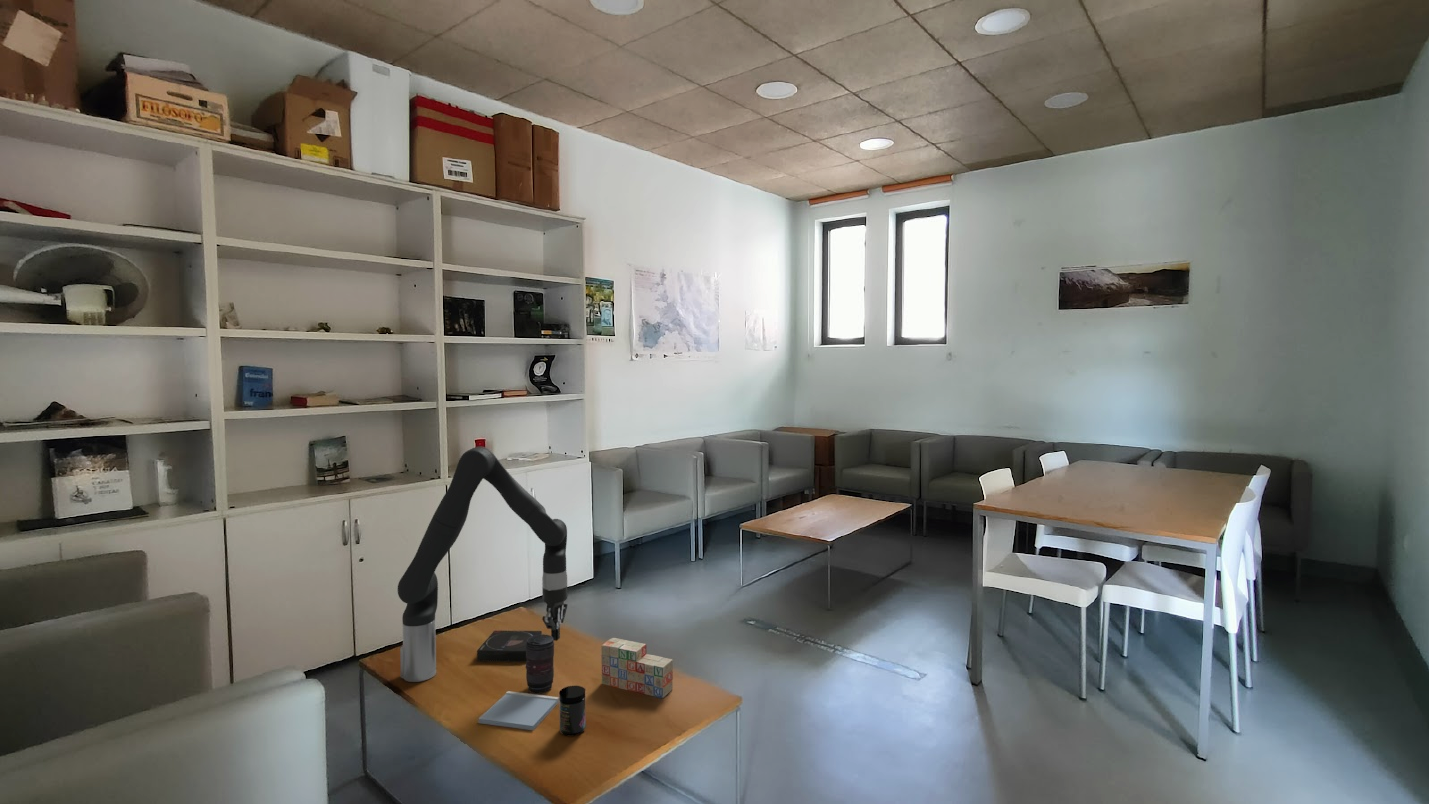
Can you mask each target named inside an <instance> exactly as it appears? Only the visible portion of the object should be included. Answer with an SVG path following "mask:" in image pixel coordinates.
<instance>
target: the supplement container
mask: <svg viewBox="0 0 1429 804" xmlns="http://www.w3.org/2000/svg"><path fill="white" fill-rule="evenodd" d="M558 695H559V696H558V697H559V703H558V704H559V706H558V707H559V732H560V733H561V734H562V735H563V736H567V737H574V736H578V735H580V734H582V733H583V732H584V731H585V729H586V688H585V687H583V686H581V685H569V686H565V687H563V688H561V689H560V690H559V693H558Z"/></svg>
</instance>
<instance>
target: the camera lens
mask: <svg viewBox="0 0 1429 804" xmlns="http://www.w3.org/2000/svg"><path fill="white" fill-rule="evenodd" d="M554 657H555V641H554V640H553V637H552V636H551V634H550V635H549V634H543V633H542V635H534V636H531V637H529V638H528V639H527V644H526V659H527V662H525V669H526V672H525V673H526V685H527V687H528V692H529V693H530V694H543V693H546V692H549V691H550V690H552V688H553V682H554V675H555V673H554V672H555V667H554Z"/></svg>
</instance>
